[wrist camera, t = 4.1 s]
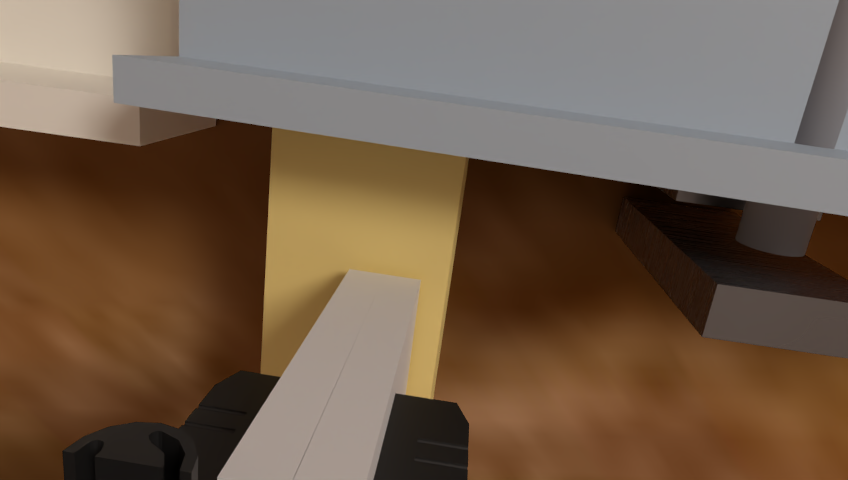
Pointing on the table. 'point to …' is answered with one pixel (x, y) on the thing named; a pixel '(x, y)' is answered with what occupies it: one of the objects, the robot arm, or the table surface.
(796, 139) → the lever
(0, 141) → the table surface
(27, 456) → the table surface
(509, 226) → the table surface
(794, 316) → the fulcrum
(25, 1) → the tray
